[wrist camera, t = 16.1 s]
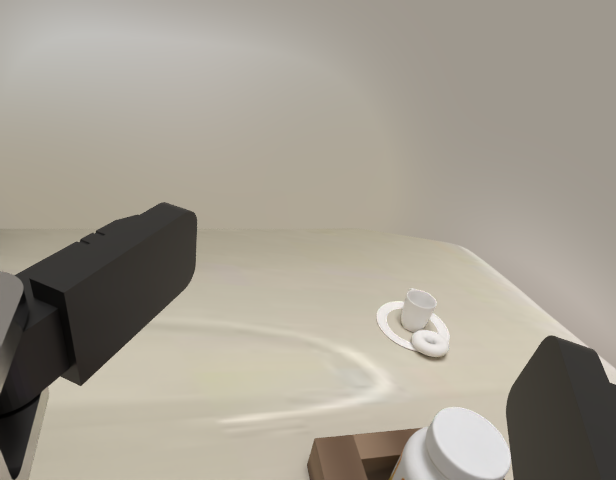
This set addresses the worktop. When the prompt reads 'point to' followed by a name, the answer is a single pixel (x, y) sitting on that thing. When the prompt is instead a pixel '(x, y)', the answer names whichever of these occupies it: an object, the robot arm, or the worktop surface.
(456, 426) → the supplement bottle
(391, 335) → the teacup and saucer
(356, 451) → the bottle holder
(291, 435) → the worktop surface
